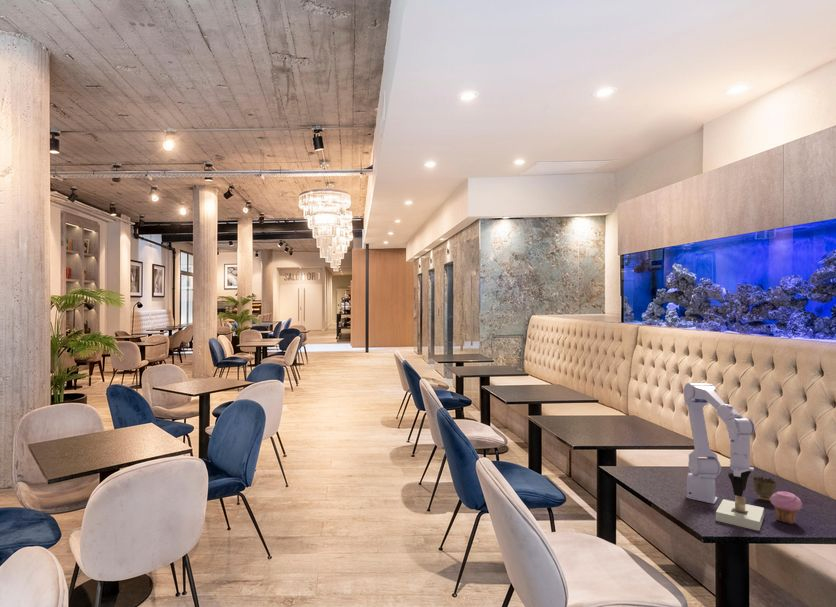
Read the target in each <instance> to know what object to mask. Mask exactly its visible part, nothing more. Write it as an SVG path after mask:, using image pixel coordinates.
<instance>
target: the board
mask: <svg viewBox="0 0 836 607" xmlns="http://www.w3.org/2000/svg"><path fill="white" fill-rule="evenodd" d="M764 518H765V507H762V506H757V505H752V504H748V503H745V515H744V514H739V513H735V500H734V501H733V500H729V499H724V498H723V499H722V501H721V502H720V504H719V506H718V507H717V509H716V511H715V521H717V522H719V523H725V524H729V525H733V526H736V527H741V528H746V529H749V530H752V531H753V530H754V531H760V530H761V527H762V524H763V521H764Z"/></svg>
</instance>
